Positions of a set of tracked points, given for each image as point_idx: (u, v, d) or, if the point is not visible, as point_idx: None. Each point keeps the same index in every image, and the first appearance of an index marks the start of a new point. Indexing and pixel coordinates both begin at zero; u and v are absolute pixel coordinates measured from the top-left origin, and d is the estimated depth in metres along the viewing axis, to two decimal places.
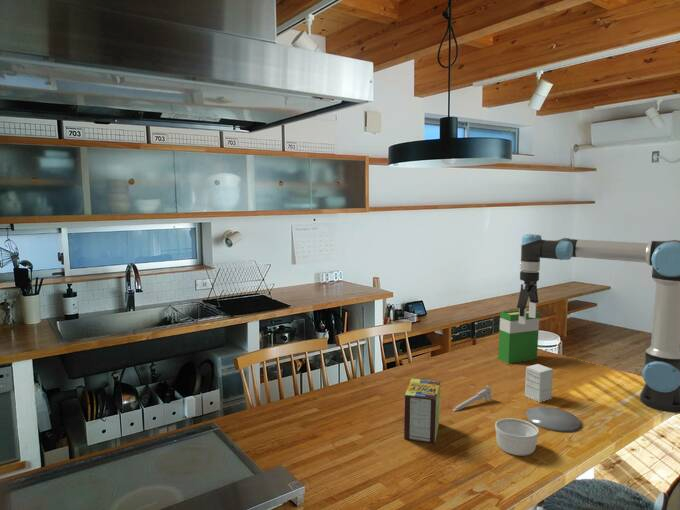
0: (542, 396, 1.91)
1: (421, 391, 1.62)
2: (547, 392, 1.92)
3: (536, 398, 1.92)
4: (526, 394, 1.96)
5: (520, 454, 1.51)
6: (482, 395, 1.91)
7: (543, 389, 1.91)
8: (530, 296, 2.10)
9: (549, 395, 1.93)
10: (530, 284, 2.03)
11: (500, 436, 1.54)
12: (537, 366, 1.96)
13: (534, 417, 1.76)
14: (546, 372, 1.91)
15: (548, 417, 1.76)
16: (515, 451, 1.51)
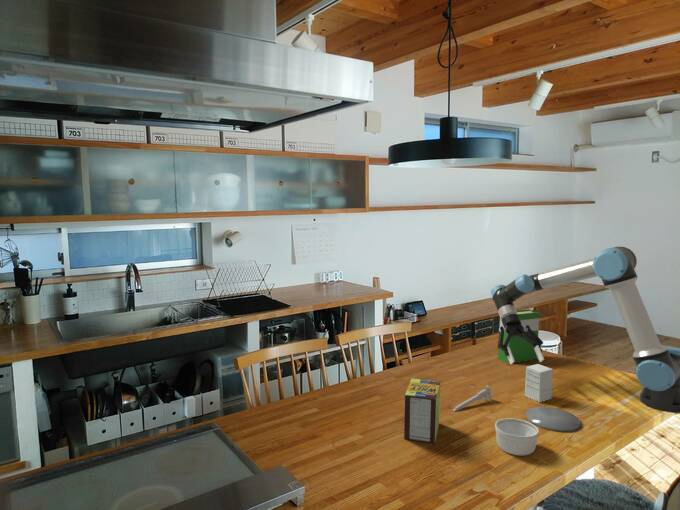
0: (542, 396, 1.91)
1: (421, 391, 1.62)
2: (547, 392, 1.92)
3: (536, 398, 1.92)
4: (526, 394, 1.96)
5: (520, 454, 1.51)
6: (482, 395, 1.90)
7: (543, 389, 1.91)
8: (528, 341, 2.08)
9: (549, 395, 1.93)
10: (511, 327, 2.09)
11: (500, 436, 1.54)
12: (537, 366, 1.96)
13: (534, 417, 1.76)
14: (546, 372, 1.91)
15: (548, 417, 1.76)
16: (515, 451, 1.51)
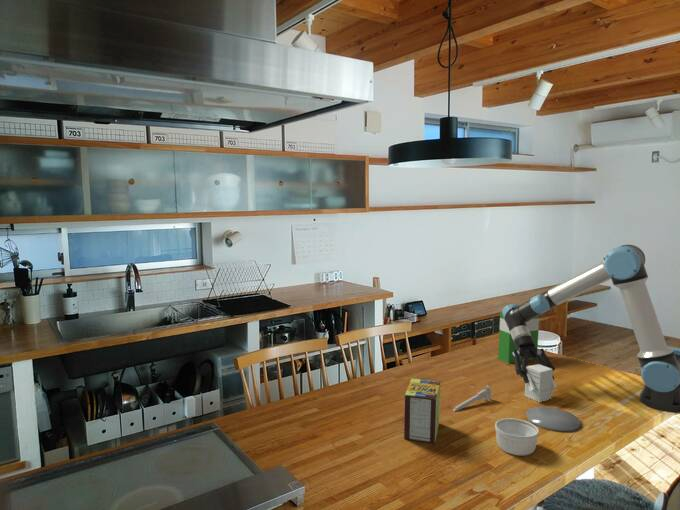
0: (542, 396, 1.91)
1: (421, 391, 1.62)
2: (547, 392, 1.92)
3: (536, 398, 1.92)
4: (526, 394, 1.96)
5: (520, 454, 1.51)
6: (482, 395, 1.90)
7: (542, 389, 1.91)
8: None
9: (549, 395, 1.93)
10: (523, 348, 2.01)
11: (500, 436, 1.54)
12: (537, 366, 1.96)
13: (534, 417, 1.76)
14: (546, 372, 1.91)
15: (548, 417, 1.76)
16: (515, 451, 1.51)
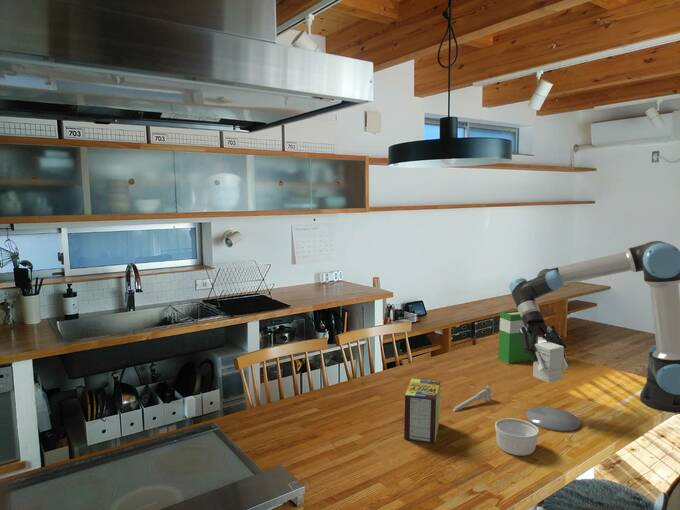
0: (552, 375, 1.75)
1: (421, 391, 1.62)
2: (558, 372, 1.77)
3: (545, 378, 1.76)
4: (534, 374, 1.80)
5: (520, 454, 1.51)
6: (482, 395, 1.90)
7: (553, 368, 1.75)
8: None
9: (559, 375, 1.77)
10: (532, 325, 1.85)
11: (500, 436, 1.54)
12: (547, 343, 1.80)
13: (534, 417, 1.76)
14: (556, 350, 1.75)
15: (548, 417, 1.76)
16: (515, 451, 1.51)
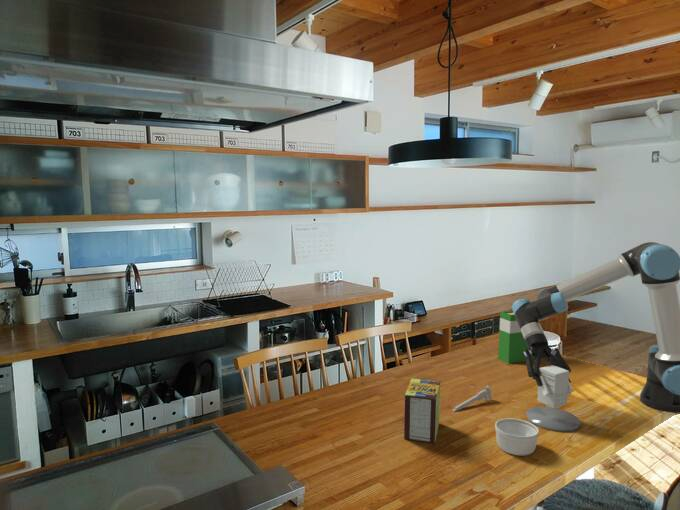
0: (557, 401, 1.71)
1: (421, 391, 1.62)
2: (563, 397, 1.72)
3: (550, 403, 1.72)
4: (539, 398, 1.76)
5: (520, 454, 1.51)
6: (482, 395, 1.90)
7: (558, 393, 1.71)
8: None
9: (564, 400, 1.73)
10: (536, 347, 1.81)
11: (500, 436, 1.54)
12: (552, 367, 1.76)
13: (534, 417, 1.76)
14: (562, 374, 1.71)
15: (548, 417, 1.76)
16: (515, 451, 1.51)
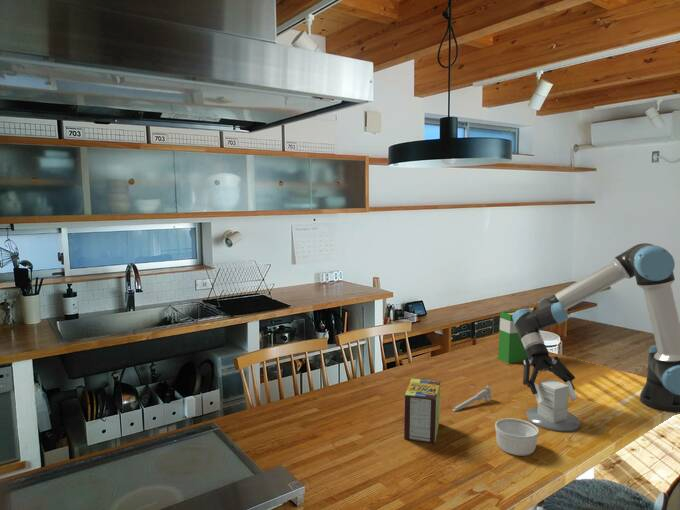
0: (557, 415, 1.72)
1: (421, 391, 1.62)
2: (563, 411, 1.73)
3: (550, 418, 1.72)
4: (539, 413, 1.77)
5: (520, 454, 1.51)
6: (482, 395, 1.90)
7: (557, 408, 1.71)
8: (558, 375, 1.80)
9: (564, 415, 1.73)
10: (537, 358, 1.81)
11: (500, 436, 1.54)
12: (552, 382, 1.76)
13: (534, 417, 1.76)
14: (561, 389, 1.71)
15: None
16: (515, 451, 1.51)
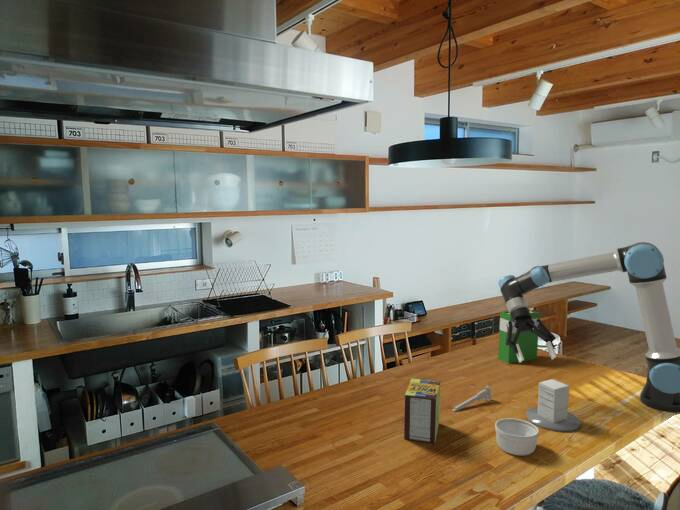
0: (557, 415, 1.72)
1: (421, 391, 1.62)
2: (563, 411, 1.73)
3: (550, 418, 1.72)
4: (539, 413, 1.77)
5: (520, 454, 1.51)
6: (482, 395, 1.90)
7: (557, 408, 1.71)
8: (539, 336, 1.92)
9: (564, 415, 1.73)
10: (520, 321, 1.94)
11: (500, 436, 1.54)
12: (552, 382, 1.76)
13: (534, 417, 1.76)
14: (561, 389, 1.71)
15: None
16: (515, 451, 1.51)
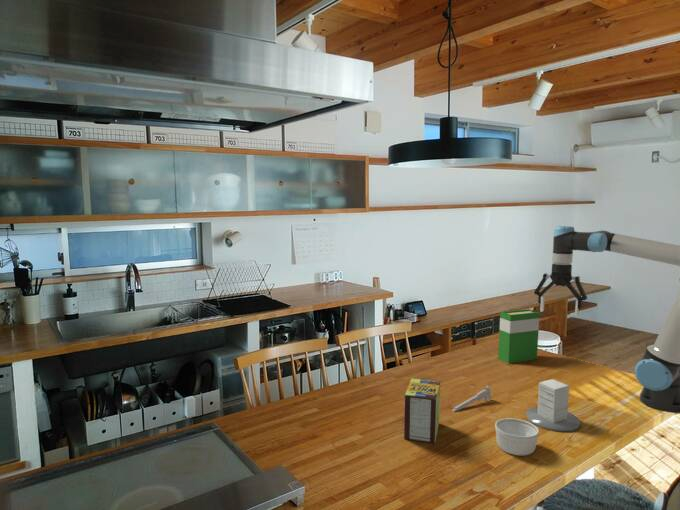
0: (557, 415, 1.72)
1: (421, 391, 1.62)
2: (563, 411, 1.73)
3: (550, 418, 1.72)
4: (539, 413, 1.77)
5: (520, 454, 1.51)
6: (482, 395, 1.90)
7: (557, 408, 1.71)
8: None
9: (564, 415, 1.73)
10: (556, 276, 2.02)
11: (500, 436, 1.54)
12: (552, 382, 1.76)
13: (534, 417, 1.76)
14: (561, 389, 1.71)
15: None
16: (515, 451, 1.51)
